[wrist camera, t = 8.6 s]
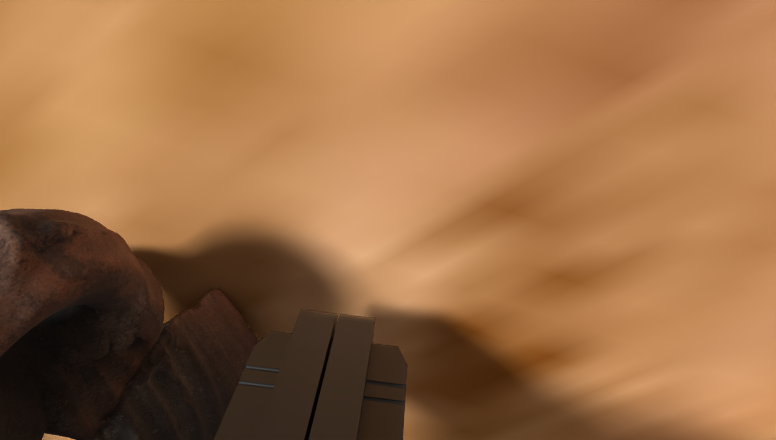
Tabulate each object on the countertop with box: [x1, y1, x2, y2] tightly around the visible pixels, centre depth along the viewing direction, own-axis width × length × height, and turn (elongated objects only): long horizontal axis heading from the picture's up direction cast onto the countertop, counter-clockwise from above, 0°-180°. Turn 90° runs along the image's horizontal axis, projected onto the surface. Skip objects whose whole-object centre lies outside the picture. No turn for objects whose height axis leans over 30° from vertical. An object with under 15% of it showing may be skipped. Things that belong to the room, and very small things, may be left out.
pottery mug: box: [0, 209, 259, 440], centre depth 12 cm, size 12×10×8 cm
